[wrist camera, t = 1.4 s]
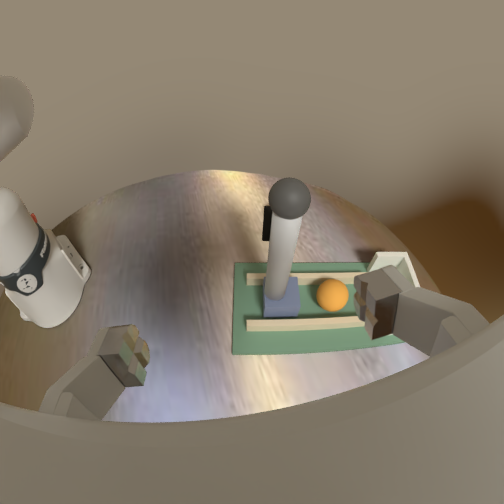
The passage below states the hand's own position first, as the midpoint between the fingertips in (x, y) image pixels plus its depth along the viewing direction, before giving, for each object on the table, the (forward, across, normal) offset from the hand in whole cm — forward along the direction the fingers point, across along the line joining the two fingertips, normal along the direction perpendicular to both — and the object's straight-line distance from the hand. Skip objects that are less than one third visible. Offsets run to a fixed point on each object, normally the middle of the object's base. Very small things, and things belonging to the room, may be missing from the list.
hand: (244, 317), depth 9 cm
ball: (+24, -11, +20) cm, 33 cm away
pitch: (+25, -11, +23) cm, 36 cm away
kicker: (+26, -2, +20) cm, 33 cm away
